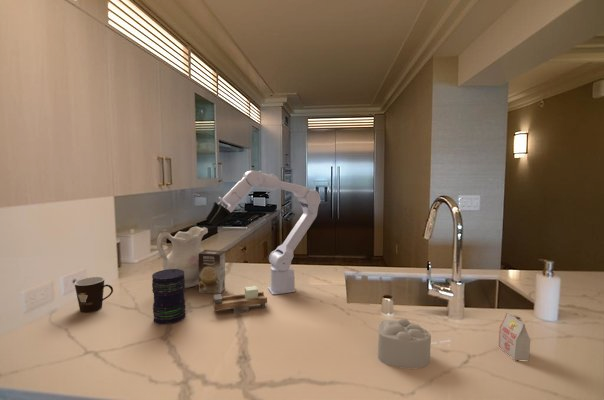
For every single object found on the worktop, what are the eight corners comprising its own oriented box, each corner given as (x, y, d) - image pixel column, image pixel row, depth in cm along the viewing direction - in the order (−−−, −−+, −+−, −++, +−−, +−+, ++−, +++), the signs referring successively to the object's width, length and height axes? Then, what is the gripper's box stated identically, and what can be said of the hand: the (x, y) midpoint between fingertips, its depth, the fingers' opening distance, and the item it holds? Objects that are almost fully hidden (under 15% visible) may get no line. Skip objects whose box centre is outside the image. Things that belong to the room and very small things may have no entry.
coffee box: (198, 292, 124) (197, 253, 123) (204, 287, 130) (204, 249, 129) (220, 294, 123) (219, 254, 122) (225, 288, 129) (225, 250, 128)
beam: (263, 301, 116) (263, 287, 116) (267, 308, 110) (267, 293, 110) (213, 308, 110) (212, 294, 109) (214, 316, 104) (214, 300, 104)
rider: (255, 295, 114) (255, 285, 113) (258, 299, 110) (258, 289, 110) (244, 297, 112) (244, 287, 112) (246, 301, 109) (246, 290, 108)
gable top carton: (511, 347, 88) (514, 312, 87) (528, 361, 81) (531, 324, 80) (498, 346, 88) (500, 312, 87) (514, 361, 81) (517, 324, 80)
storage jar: (174, 326, 97) (172, 279, 96) (146, 323, 99) (144, 277, 98) (191, 312, 107) (190, 270, 105) (165, 309, 109) (164, 267, 107)
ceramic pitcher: (177, 299, 120) (179, 236, 117) (146, 285, 130) (147, 227, 127) (218, 283, 138) (221, 228, 135) (189, 272, 148) (191, 220, 145)
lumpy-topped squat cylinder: (378, 342, 89) (379, 313, 89) (427, 350, 86) (428, 319, 85) (377, 363, 79) (378, 331, 79) (432, 373, 76) (433, 339, 75)
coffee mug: (70, 310, 107) (69, 282, 106) (97, 301, 115) (95, 275, 114) (89, 318, 102) (88, 288, 101) (116, 308, 109) (114, 280, 108)
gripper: (223, 186, 121) (198, 212, 118) (233, 189, 108) (205, 218, 105) (236, 198, 124) (211, 224, 121) (247, 203, 111) (220, 232, 108)
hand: (209, 222), depth 113 cm, fingers open, 7 cm apart
